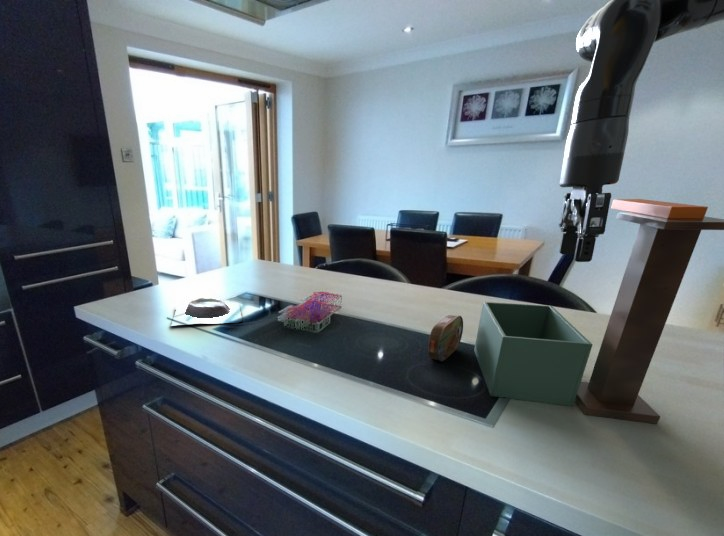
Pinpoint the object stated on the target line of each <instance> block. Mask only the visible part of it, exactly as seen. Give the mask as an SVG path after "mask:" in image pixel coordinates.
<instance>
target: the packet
mask: <svg viewBox="0 0 724 536" xmlns="http://www.w3.org/2000/svg"><path fill="white" fill-rule="evenodd" d="M610 209H612V210H618V211H622V212H623V211H624V212H633V213H639V214H645V215H650V216H656V217H662V218H667V219H704V216H705V217H706V214H707V211H708V209H709V208H708V206H705V205H696V204H688V203H678V202H670V201H662V200H661V201H660V200H652V199H645V198H644V199H643V198H613V200H612V204H611V206H610Z"/></svg>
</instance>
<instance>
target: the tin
mask: <svg viewBox="0 0 724 536" xmlns="http://www.w3.org/2000/svg"><path fill="white" fill-rule="evenodd" d="M463 333H464V319H463V317H462V316H461V315H453V314H449V315H446V316H445V317H444V318H443V319H441V320H440V321H438V322H437V323H436V324H434V326H433V327H432V329H431V331H430V333H429V338H428V351H427V354H428V358H430V359H432V360H435V361H439V362H445V361H446V360H447V359H448V358H449V357H450V356H451V355H452V354H453V353H455V352H456V350H458V348H459V347H460V343H461V341H462V337H463Z"/></svg>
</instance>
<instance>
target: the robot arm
mask: <svg viewBox="0 0 724 536" xmlns="http://www.w3.org/2000/svg"><path fill="white" fill-rule="evenodd" d="M721 21H724V0H609V1H608V2H607V3H606V4H605V5H603V6H602V7H600V9H598V10H597V11H596V12H594V13H593V14H592V15H591V16H589V18H588V19H587V20H586V22H585V23H584V24H583V25H582V27H581V28H580V30H579V32H578V34H577V37H576V42H575V46H576V47H575V49H576V52H577V54H578V56H579V57H580V58H581V59H582V60H584V61H585V62H588V63H591V67H590V70H589V72H588V76H587V77H586V78H585V80H584V81H583V82H582V83H581V85H580V86H579V87H578V89H577V92H576V94H575V98H574V105H573V109H572V116H571V121H570V127H569V131H568V134H567V137H566V141H565V147H564V151H563V152H564V153H563V159H562V165H561V171H560V176H559V177H560V178H559V183H558V185H559V187H561V188H572V190H571V192H565V193H564V195H563V201H562V207H561V211H560V217H559V222H558V228H559V229H560V232H561V233H562V234H561V239H560V246H559V250H558V251H559V254H560V255H574V256H573V260H574V261H575V262H576V263H589V262H591V261H592V260H593V256H594V252H595V251H594V250H595V246H596V241H597V238H599V237H600V235H604V234H605V232H606V227H607V221H608V216H609V210H610V209H609V208H610V205H611V200H612V192H603V188H604V186H607V185H614V184H617V183H618V182H619V181H620V175H621V172H622V166H623V161H624V157H625V152H626V146H627V143H628V139H629V130H630V129H629V128H630V116H631V112H632V108H633V102H634V99H635V91H636V86H637V83H638V81H639V78H640V76H641V73H642V71H643V70H644V68H645V66H646V62H647V61H648V58H649V55H650V54H651V51H652V49H653V46H654V43H656V42H659V41H662V40H665V39H667V38H670V37H672V36H676V35H680V34H684V33H688V32H691V31H695V30H698V29H700V28H703V27H706V26H709V25H712V24H715V23H718V22H721Z"/></svg>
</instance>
